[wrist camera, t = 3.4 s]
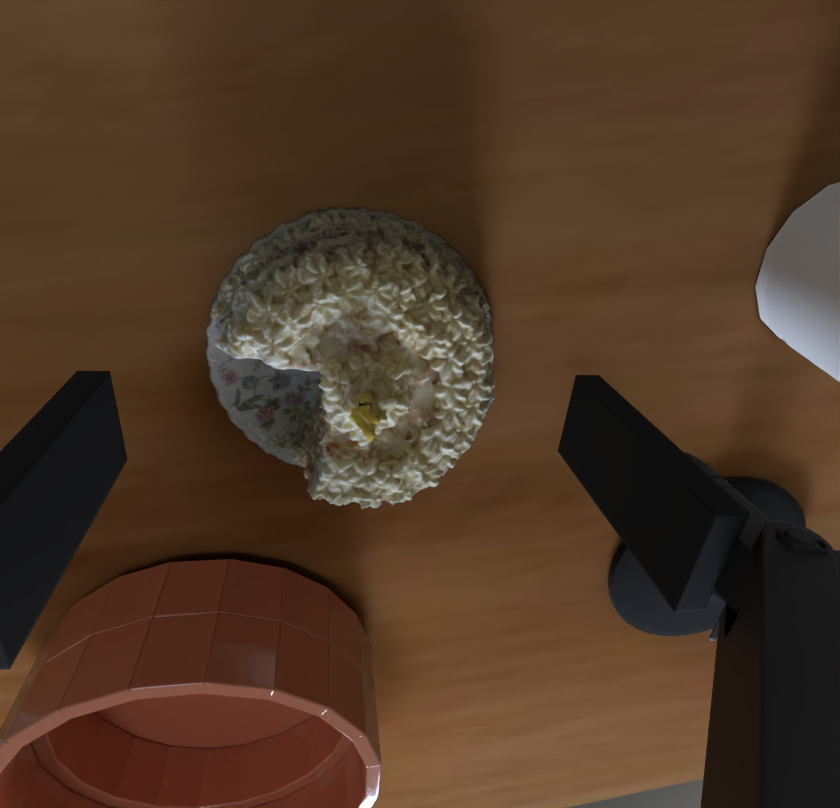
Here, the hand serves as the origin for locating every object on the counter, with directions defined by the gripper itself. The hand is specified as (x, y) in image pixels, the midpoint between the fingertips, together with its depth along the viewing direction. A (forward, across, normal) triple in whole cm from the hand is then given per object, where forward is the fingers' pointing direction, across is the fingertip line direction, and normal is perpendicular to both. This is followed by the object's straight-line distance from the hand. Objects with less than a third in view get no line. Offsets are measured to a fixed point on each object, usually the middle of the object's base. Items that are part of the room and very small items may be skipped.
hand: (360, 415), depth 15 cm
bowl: (+4, -6, -16) cm, 17 cm away
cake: (+4, 0, 0) cm, 4 cm away
